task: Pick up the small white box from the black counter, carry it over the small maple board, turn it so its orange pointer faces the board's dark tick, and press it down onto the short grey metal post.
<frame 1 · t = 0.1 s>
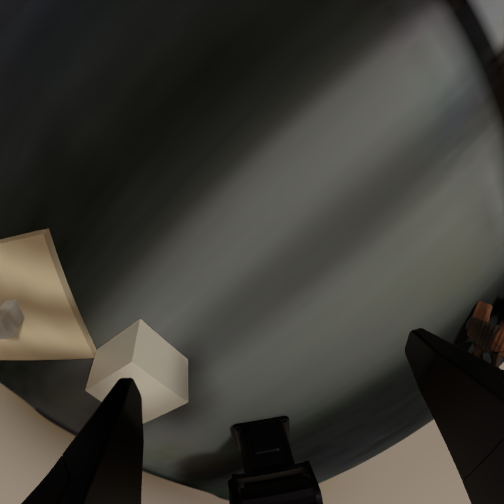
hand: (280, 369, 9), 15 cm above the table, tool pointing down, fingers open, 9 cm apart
small white box: (141, 355, 27), on the table
pottery mug: (486, 316, 34), on the table
board: (19, 302, 23), on the table
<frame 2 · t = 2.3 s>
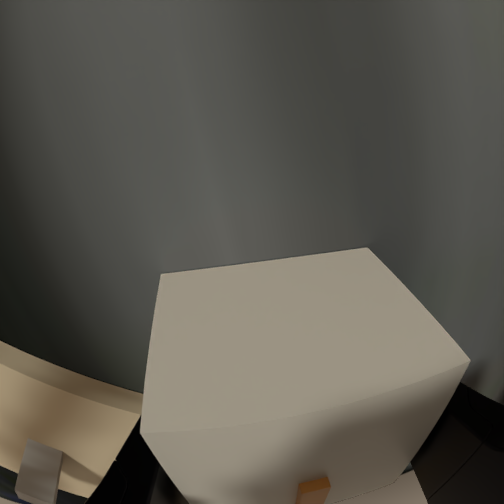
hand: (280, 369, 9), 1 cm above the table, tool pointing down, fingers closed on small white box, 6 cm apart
small white box: (272, 341, 10), on the table, touching gripper
board: (49, 434, 12), on the table
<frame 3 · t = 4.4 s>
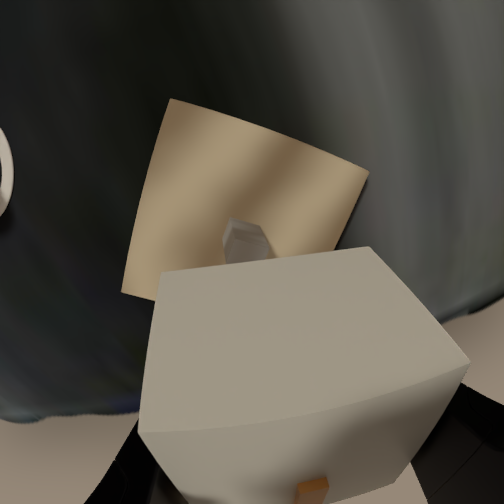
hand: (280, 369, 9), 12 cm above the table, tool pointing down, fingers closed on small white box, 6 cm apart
small white box: (272, 339, 10), point 10 cm above the table, touching gripper
board: (239, 225, 20), on the table
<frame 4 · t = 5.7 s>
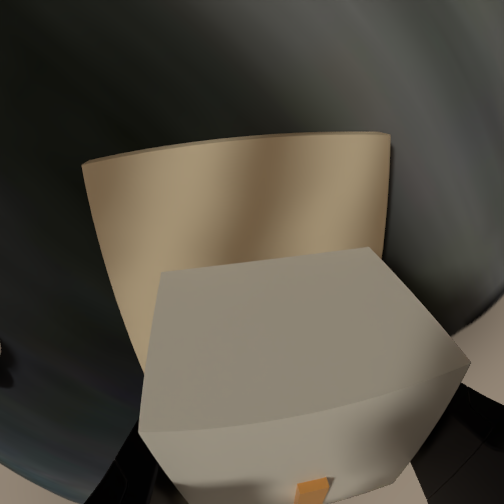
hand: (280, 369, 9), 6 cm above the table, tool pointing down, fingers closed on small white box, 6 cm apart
small white box: (272, 339, 10), point 5 cm above the table, touching gripper
board: (250, 273, 15), on the table
when the fingers open (3 cm above the table, at t = 6.7 s): small white box drops 1 cm, resting on board.
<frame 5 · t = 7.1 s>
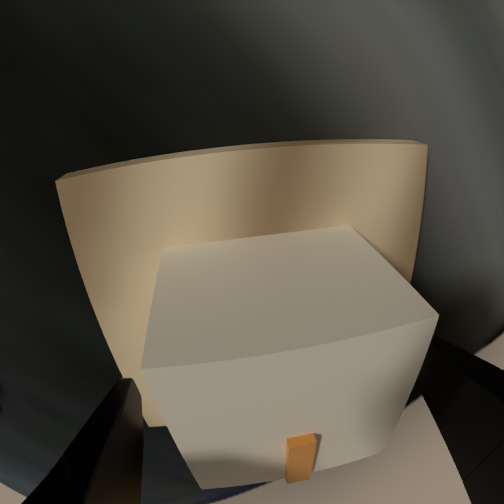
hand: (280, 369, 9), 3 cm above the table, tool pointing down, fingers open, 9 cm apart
small white box: (264, 313, 11), point 1 cm above the table, touching board
board: (260, 304, 12), on the table
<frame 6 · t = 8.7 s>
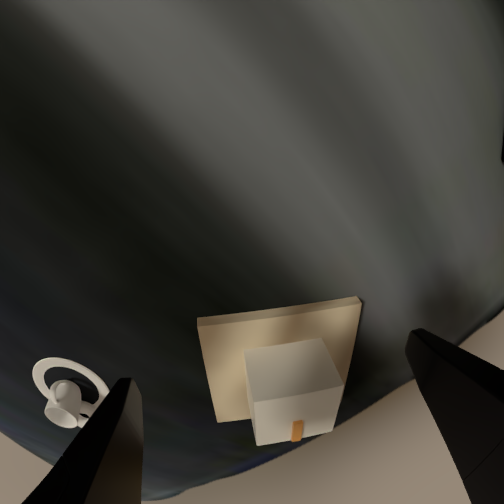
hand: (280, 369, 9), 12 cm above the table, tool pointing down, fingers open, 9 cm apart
small white box: (282, 370, 25), point 1 cm above the table, touching board
board: (280, 364, 26), on the table
white ring with cylinder: (56, 392, 25), on the table
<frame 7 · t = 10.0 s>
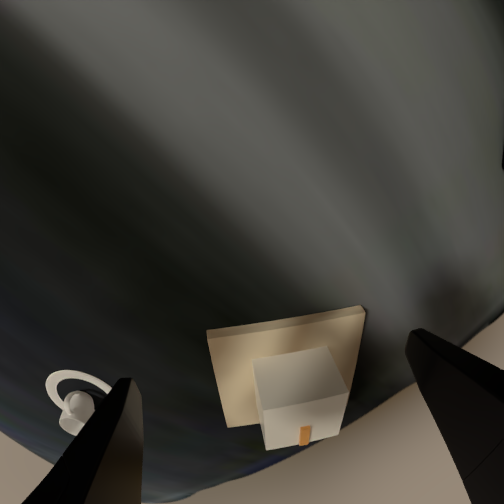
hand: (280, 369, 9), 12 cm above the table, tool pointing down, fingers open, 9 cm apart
small white box: (289, 377, 26), point 1 cm above the table, touching board
board: (287, 371, 27), on the table
white ring with cylinder: (69, 402, 26), on the table
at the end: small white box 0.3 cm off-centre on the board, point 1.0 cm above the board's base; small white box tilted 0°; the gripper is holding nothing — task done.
